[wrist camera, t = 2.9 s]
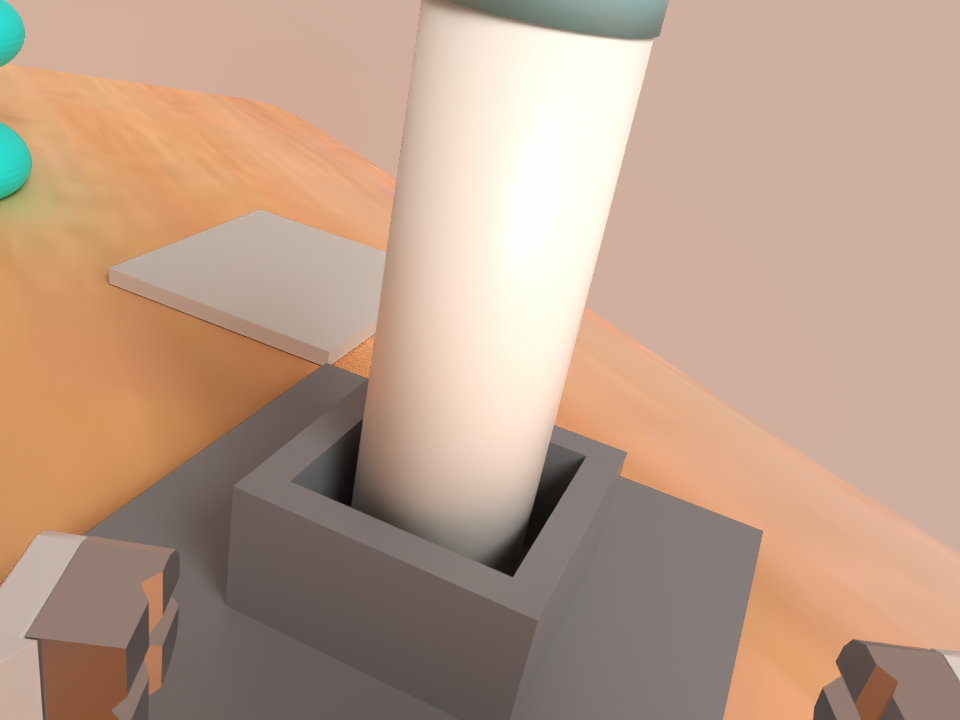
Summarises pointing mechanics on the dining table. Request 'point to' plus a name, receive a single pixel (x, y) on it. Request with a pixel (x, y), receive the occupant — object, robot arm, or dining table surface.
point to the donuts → (3, 153)
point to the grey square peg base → (432, 587)
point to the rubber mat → (268, 283)
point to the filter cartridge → (493, 257)
